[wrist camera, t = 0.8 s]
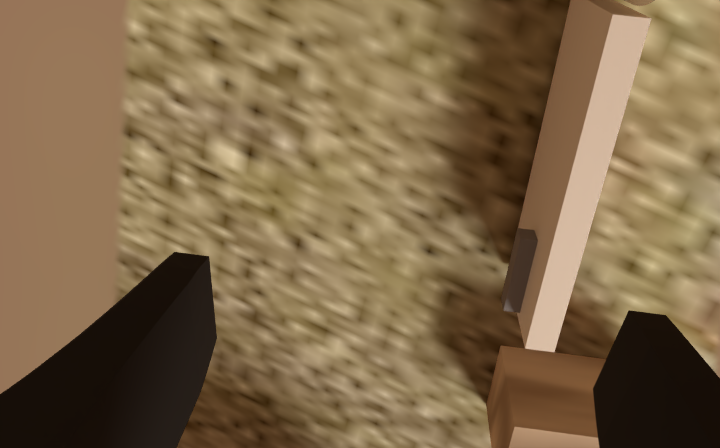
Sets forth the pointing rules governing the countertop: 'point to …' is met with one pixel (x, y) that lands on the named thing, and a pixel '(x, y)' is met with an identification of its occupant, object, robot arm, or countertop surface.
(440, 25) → the countertop surface
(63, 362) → the robot arm
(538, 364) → the block
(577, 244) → the door
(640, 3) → the brown slab
